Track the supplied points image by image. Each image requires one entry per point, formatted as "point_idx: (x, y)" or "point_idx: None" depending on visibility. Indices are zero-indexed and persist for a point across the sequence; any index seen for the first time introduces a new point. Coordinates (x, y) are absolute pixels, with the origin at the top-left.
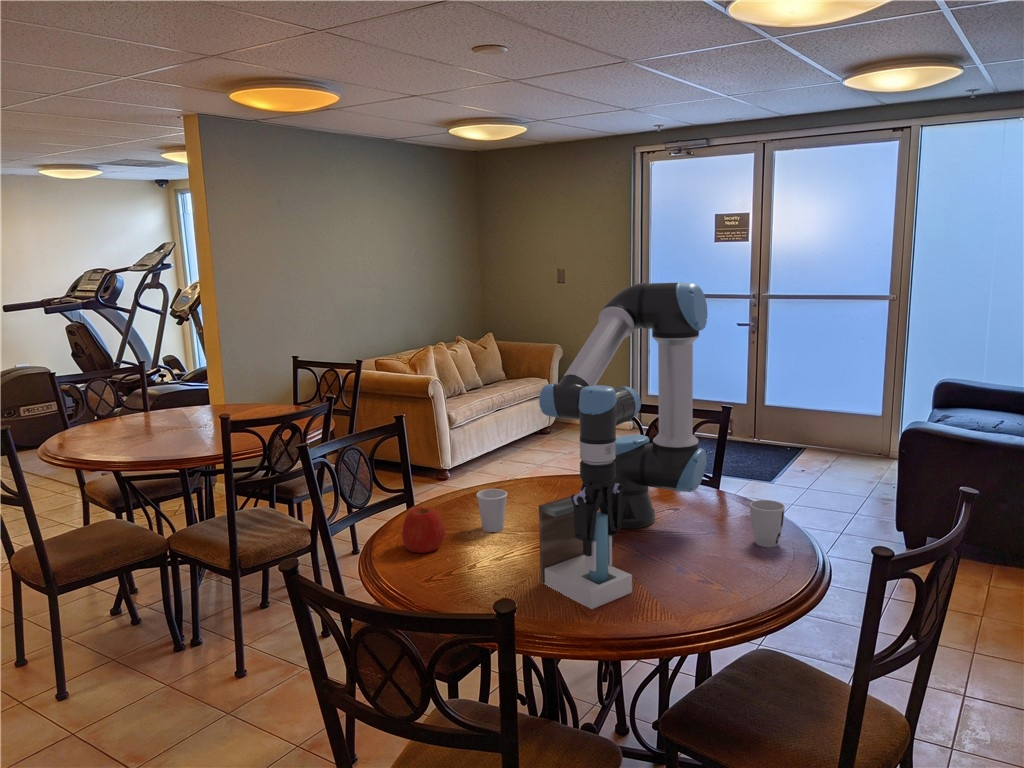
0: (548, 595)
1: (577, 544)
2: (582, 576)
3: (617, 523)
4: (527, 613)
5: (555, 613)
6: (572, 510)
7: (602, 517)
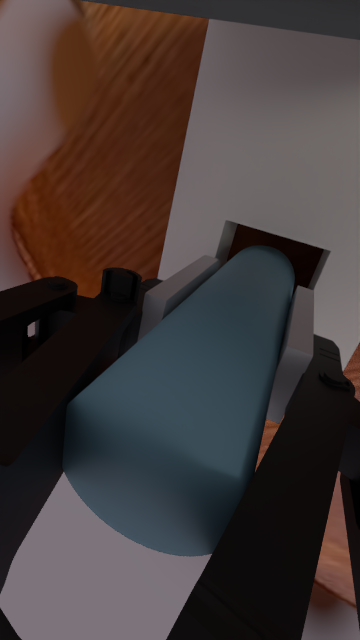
0: (173, 124)
1: None
2: (236, 222)
3: (347, 510)
4: (60, 153)
5: (104, 220)
6: (192, 3)
7: (112, 519)
